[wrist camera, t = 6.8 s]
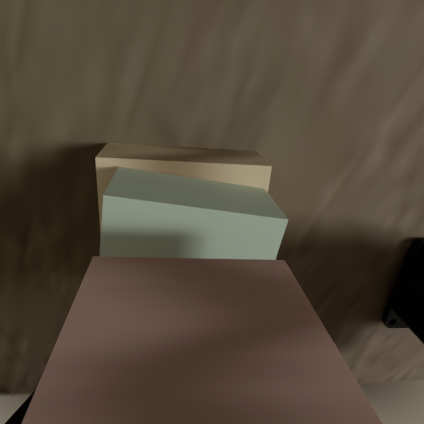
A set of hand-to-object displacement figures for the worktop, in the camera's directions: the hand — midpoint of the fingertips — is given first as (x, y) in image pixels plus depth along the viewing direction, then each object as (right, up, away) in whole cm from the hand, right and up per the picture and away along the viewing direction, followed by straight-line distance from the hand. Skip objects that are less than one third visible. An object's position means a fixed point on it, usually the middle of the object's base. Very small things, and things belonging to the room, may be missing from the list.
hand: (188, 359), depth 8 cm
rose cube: (0, 0, +1) cm, 1 cm away
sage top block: (-1, +3, +6) cm, 6 cm away
